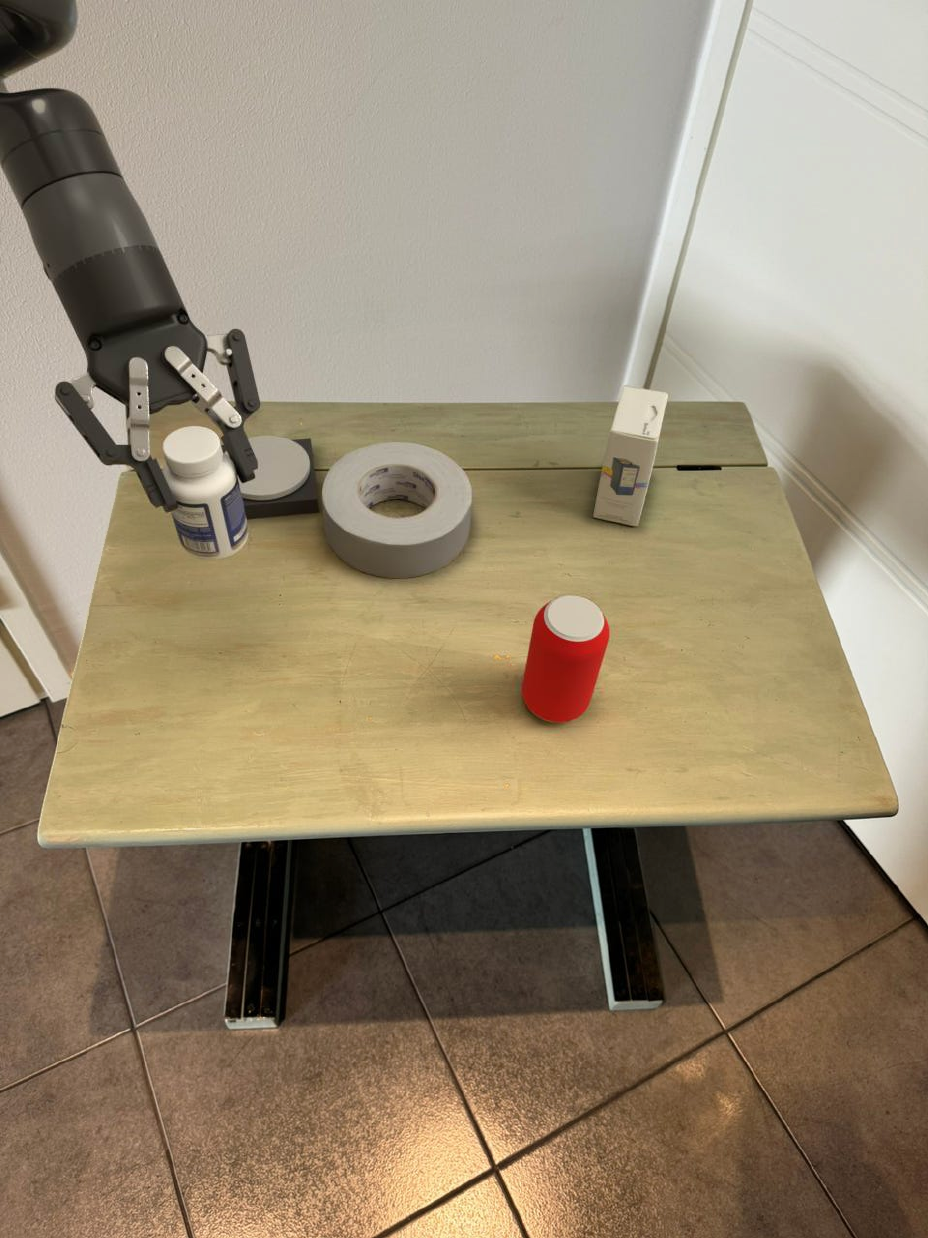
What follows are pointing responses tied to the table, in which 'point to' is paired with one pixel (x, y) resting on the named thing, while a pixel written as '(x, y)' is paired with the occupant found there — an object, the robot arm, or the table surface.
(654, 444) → the ink box
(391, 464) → the tape roll
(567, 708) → the beverage can
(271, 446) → the scale
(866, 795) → the table surface
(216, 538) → the pill bottle
